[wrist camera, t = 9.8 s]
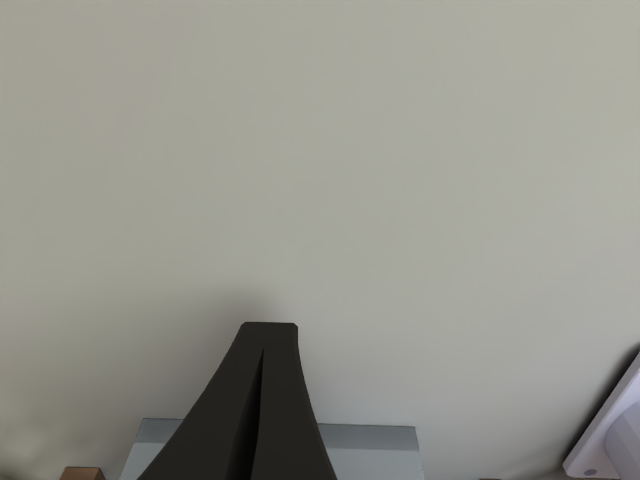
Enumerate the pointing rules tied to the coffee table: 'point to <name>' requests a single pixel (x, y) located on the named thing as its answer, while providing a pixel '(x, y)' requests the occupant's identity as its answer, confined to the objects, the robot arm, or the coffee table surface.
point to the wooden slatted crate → (94, 474)
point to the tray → (339, 440)
